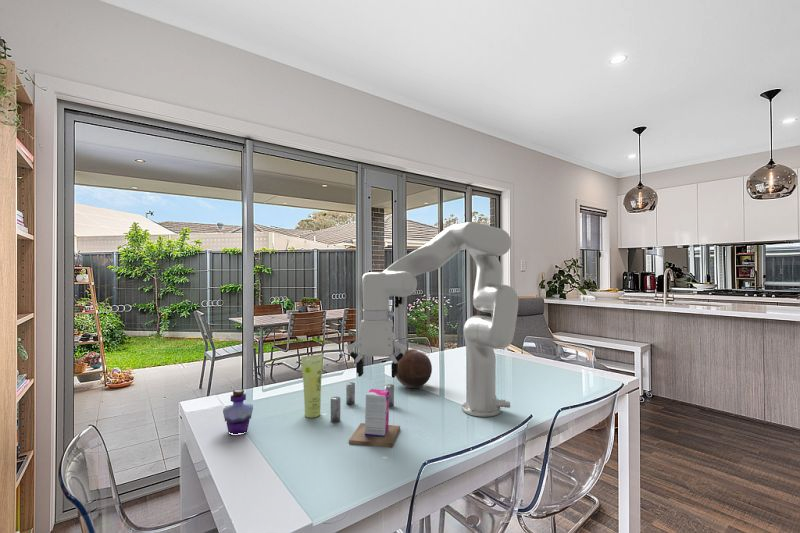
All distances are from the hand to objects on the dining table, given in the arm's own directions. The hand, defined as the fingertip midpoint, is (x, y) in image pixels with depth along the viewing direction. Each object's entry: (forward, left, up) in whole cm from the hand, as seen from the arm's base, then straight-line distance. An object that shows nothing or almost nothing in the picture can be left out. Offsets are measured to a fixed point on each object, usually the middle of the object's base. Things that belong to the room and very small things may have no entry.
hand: (377, 375), depth 112 cm
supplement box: (0, 0, -16) cm, 16 cm away
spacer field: (+8, -17, -17) cm, 25 cm away
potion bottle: (+40, +4, -17) cm, 44 cm away
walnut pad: (0, 0, -17) cm, 17 cm away
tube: (+24, -12, -17) cm, 32 cm away
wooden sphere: (-4, -48, -17) cm, 51 cm away
